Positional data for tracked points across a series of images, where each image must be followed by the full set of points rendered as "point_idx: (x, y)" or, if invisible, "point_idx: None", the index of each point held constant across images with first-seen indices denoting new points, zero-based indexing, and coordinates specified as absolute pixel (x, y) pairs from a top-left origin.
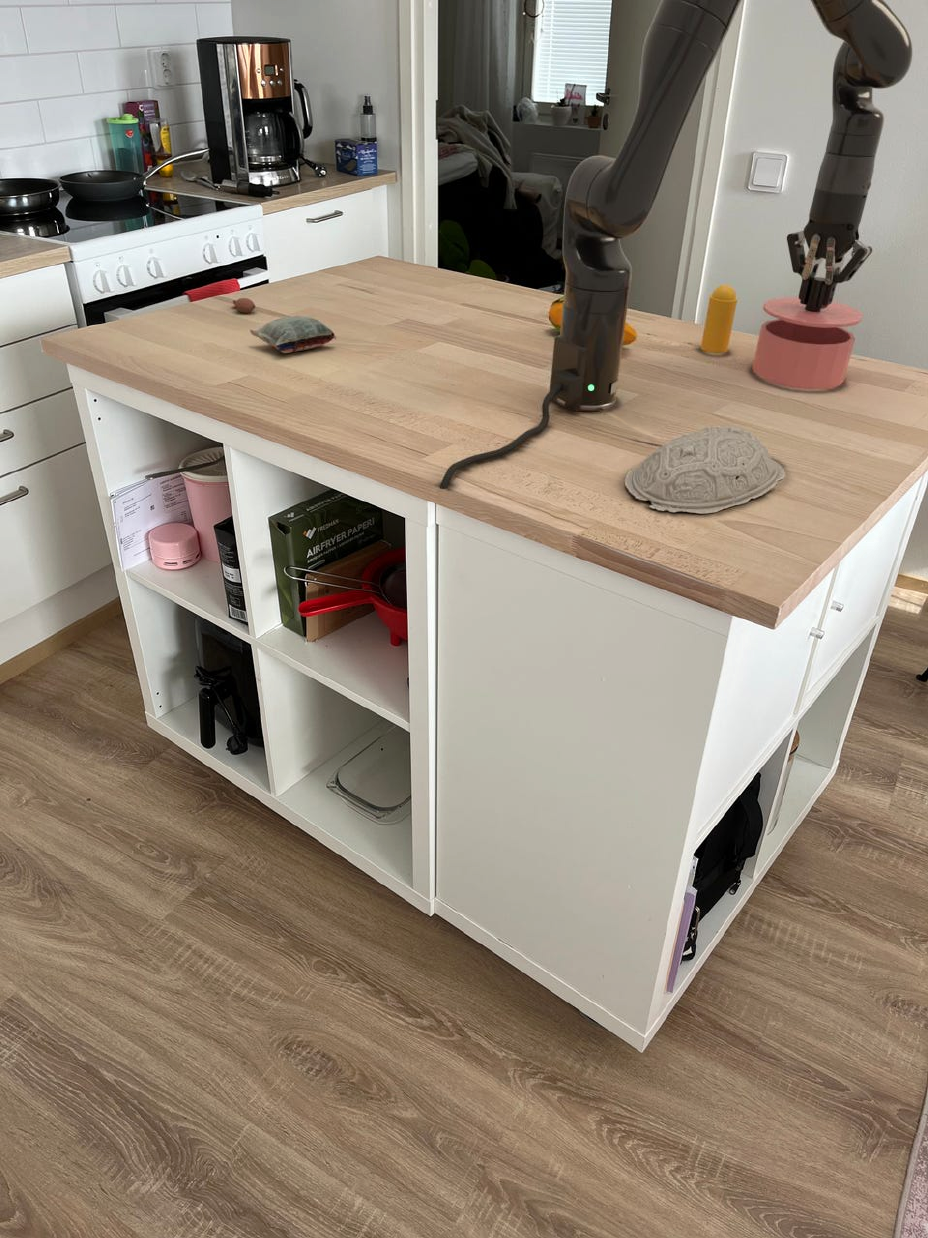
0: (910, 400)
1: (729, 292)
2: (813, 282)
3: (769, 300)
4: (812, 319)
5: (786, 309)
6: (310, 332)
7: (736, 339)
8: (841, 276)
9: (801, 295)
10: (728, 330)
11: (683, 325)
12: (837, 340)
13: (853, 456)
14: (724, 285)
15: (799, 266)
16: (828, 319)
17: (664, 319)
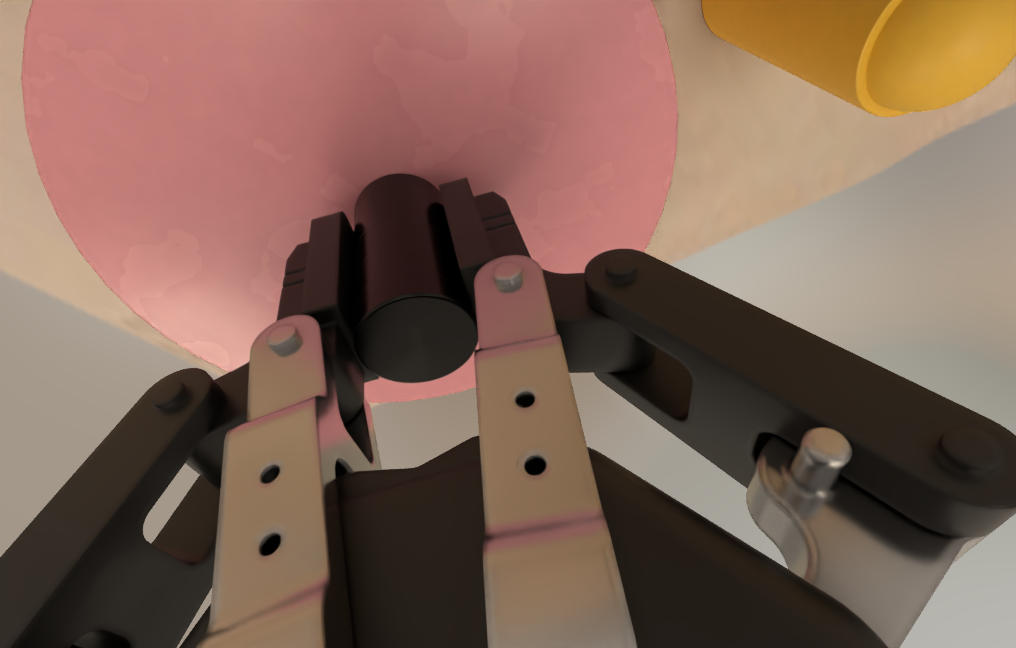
0: (63, 279)
1: (935, 31)
2: (416, 277)
3: (670, 114)
4: (173, 29)
5: (476, 54)
6: None
7: (749, 179)
8: (159, 418)
9: (485, 207)
10: (762, 8)
11: (939, 116)
12: None
13: None
14: (1004, 47)
15: (603, 296)
16: (164, 154)
17: (1012, 100)
